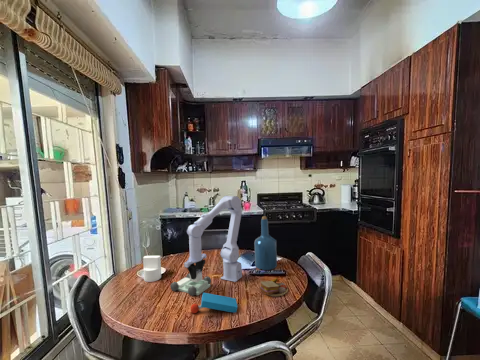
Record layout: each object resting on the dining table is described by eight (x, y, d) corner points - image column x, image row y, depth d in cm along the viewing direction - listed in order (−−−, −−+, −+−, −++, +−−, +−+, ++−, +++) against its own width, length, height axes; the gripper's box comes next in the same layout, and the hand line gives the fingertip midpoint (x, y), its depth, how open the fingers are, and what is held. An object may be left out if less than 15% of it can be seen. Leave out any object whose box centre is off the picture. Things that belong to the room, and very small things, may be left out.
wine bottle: (258, 272, 132) (257, 219, 132) (252, 264, 145) (250, 215, 145) (281, 269, 135) (279, 217, 135) (272, 261, 148) (271, 214, 148)
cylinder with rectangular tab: (163, 274, 133) (163, 253, 133) (156, 281, 124) (155, 259, 124) (148, 274, 134) (148, 253, 134) (140, 281, 125) (139, 259, 125)
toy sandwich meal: (293, 295, 106) (292, 284, 106) (265, 300, 102) (265, 289, 102) (280, 283, 118) (280, 274, 118) (255, 287, 114) (255, 278, 114)
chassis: (212, 285, 118) (211, 277, 118) (195, 297, 107) (195, 288, 107) (187, 279, 126) (187, 272, 126) (169, 290, 114) (169, 282, 114)
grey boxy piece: (202, 279, 115) (201, 269, 115) (197, 282, 112) (196, 272, 112) (195, 277, 118) (194, 267, 118) (190, 281, 114) (189, 270, 114)
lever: (231, 314, 100) (190, 307, 98) (235, 298, 101) (194, 290, 98) (233, 324, 94) (188, 316, 91) (237, 307, 94) (193, 299, 92)
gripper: (198, 244, 123) (199, 270, 123) (178, 252, 110) (179, 281, 110) (209, 245, 119) (210, 272, 120) (190, 254, 107) (191, 284, 107)
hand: (196, 277), depth 115 cm, fingers closed on grey boxy piece, 4 cm apart
